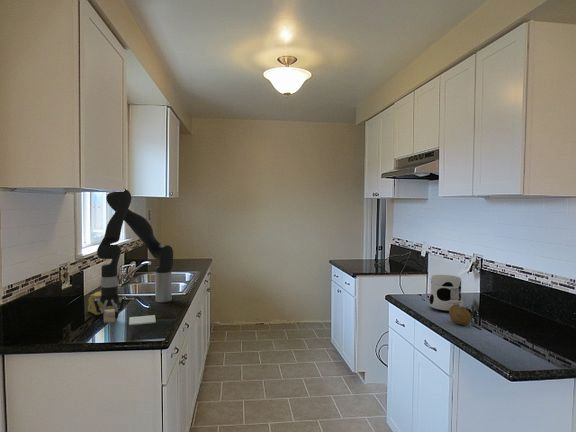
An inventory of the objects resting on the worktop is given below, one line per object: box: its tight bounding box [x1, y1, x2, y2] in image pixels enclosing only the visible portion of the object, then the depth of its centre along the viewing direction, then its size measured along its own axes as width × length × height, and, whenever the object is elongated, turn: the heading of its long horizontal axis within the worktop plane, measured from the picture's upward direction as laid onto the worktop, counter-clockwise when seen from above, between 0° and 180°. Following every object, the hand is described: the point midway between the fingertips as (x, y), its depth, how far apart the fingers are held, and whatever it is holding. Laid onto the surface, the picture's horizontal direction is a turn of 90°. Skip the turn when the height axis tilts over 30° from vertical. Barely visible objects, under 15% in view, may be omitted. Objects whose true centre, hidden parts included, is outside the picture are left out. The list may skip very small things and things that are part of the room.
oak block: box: [103, 309, 116, 324], centre depth 193 cm, size 5×5×5 cm
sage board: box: [128, 314, 157, 326], centre depth 194 cm, size 12×12×1 cm
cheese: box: [87, 290, 114, 316], centre depth 210 cm, size 10×11×10 cm
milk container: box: [428, 274, 464, 313], centre depth 216 cm, size 17×17×18 cm
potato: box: [448, 306, 473, 326], centre depth 190 cm, size 10×14×8 cm
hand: (109, 319), depth 193 cm, fingers closed on oak block, 5 cm apart
